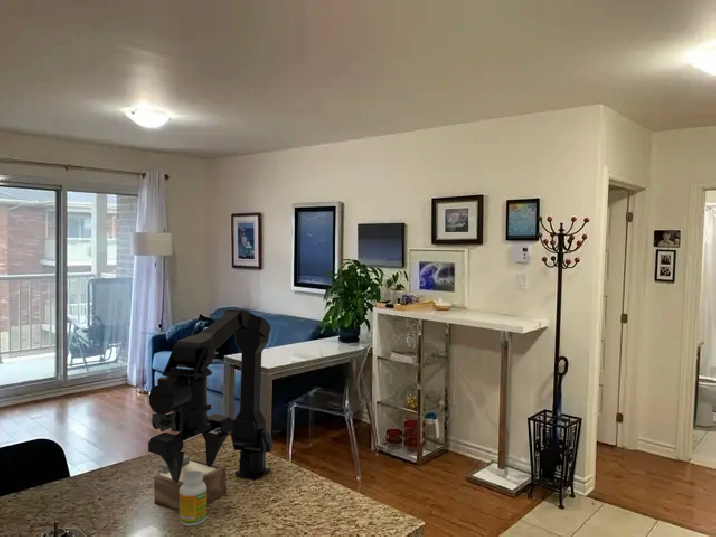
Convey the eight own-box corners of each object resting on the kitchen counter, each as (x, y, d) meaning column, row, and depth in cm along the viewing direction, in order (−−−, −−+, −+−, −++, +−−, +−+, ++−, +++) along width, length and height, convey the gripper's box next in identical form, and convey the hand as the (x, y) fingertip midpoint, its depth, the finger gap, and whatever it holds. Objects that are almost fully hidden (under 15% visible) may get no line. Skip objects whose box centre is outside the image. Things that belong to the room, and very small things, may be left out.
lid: (189, 463, 132) (189, 453, 132) (217, 471, 128) (217, 461, 128) (158, 477, 124) (158, 466, 124) (187, 486, 120) (187, 475, 120)
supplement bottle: (198, 527, 113) (198, 481, 112) (174, 525, 114) (174, 478, 114) (210, 515, 118) (210, 470, 118) (187, 512, 119) (187, 468, 119)
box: (194, 483, 134) (194, 458, 134) (225, 493, 129) (225, 466, 129) (154, 503, 123) (154, 476, 123) (186, 514, 118) (186, 486, 118)
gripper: (197, 385, 127) (198, 452, 128) (128, 406, 111) (129, 482, 112) (234, 392, 122) (234, 462, 122) (167, 414, 105) (168, 494, 106)
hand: (193, 474), depth 116 cm, fingers open, 9 cm apart
